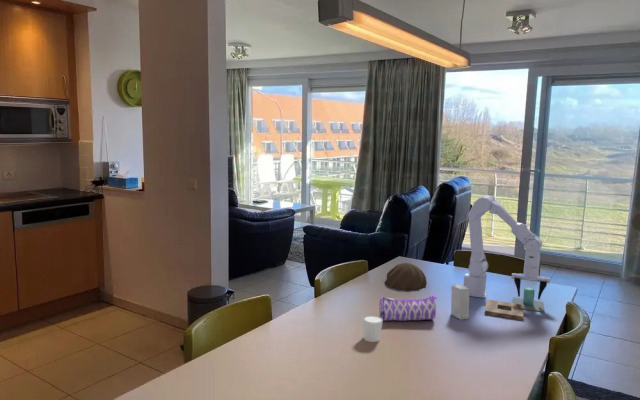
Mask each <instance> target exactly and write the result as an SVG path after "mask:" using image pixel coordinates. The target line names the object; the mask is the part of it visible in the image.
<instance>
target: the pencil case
mask: <svg viewBox="0 0 640 400" xmlns="http://www.w3.org/2000/svg"><path fill="white" fill-rule="evenodd" d="M437 299H438V296H437V295H431V296H427V297H425V298H391V297H387V296H385V297H384V296H383V297H382V295H380V300H379V304H378V305H379V306H378V309H379V313H378V314H379V315H380V316H379V317H380V318H382V319H383V322H384V321H405V322H406V321H422V320H423V321H424V320H435V318H436V315H437V313H436V312H437V310H436V309H437V308H436V301H435V300H437Z"/></svg>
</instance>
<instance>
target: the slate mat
mask: <svg viewBox="0 0 640 400" xmlns="http://www.w3.org/2000/svg"><path fill="white" fill-rule="evenodd" d="M512 303H515V304H521V305H523V310H527V311H534V312H539V313H545V312H546V311H545V306H544V305H545V304H544V301H541V300H534V304H533V306H527V305H524V304H523V298H520V297H512Z"/></svg>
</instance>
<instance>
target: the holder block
mask: <svg viewBox="0 0 640 400" xmlns="http://www.w3.org/2000/svg"><path fill="white" fill-rule="evenodd" d="M484 315H487V316H494V317H500V318H506V319H512V320H518V321H524V309H523V305H521V304H515V303H513V302H508V301H507V302H506V301H499V300H494V299H487V300H486V304H485V308H484Z"/></svg>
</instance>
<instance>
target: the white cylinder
mask: <svg viewBox="0 0 640 400" xmlns="http://www.w3.org/2000/svg"><path fill="white" fill-rule="evenodd" d="M383 322H384V321H383V319H382V318H381V317H380V316H377V315H366V316H363V317H362V328H363V329H362V330H363V340H364V341H366V342H370V343H377V342H379V341H381V336H382V329H383Z"/></svg>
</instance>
